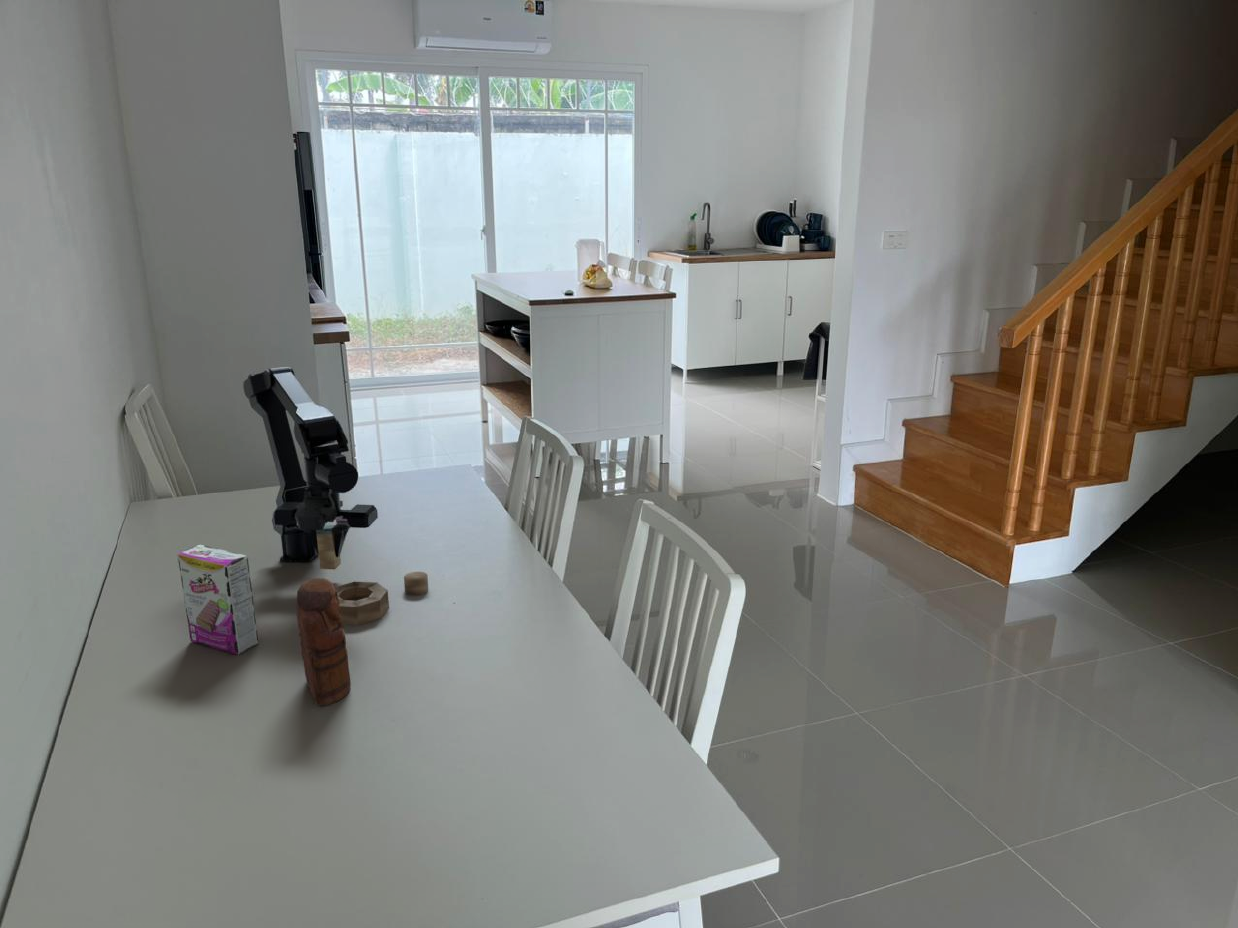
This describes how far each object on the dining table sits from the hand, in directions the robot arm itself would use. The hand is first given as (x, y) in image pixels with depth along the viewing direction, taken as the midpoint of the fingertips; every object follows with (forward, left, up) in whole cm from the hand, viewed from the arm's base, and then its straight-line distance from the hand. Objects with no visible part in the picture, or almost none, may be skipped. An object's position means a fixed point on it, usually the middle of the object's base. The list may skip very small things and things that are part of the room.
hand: (329, 556), depth 183 cm
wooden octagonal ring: (+10, -13, -5) cm, 17 cm away
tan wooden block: (0, 0, -2) cm, 2 cm away
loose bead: (+18, -3, -5) cm, 19 cm away
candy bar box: (-8, -27, -5) cm, 29 cm away
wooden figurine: (+15, -39, -5) cm, 42 cm away
